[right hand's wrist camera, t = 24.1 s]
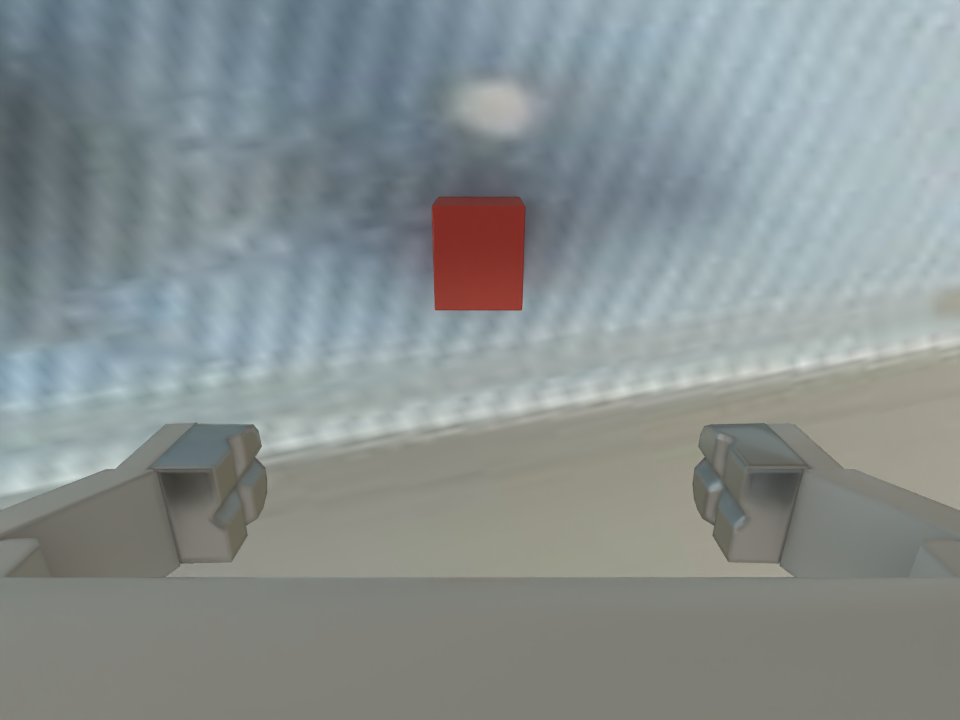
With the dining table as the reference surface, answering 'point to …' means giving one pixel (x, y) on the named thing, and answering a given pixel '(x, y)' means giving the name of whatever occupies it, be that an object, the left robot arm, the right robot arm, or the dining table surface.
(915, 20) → the dining table surface
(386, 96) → the dining table surface
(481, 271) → the brick
